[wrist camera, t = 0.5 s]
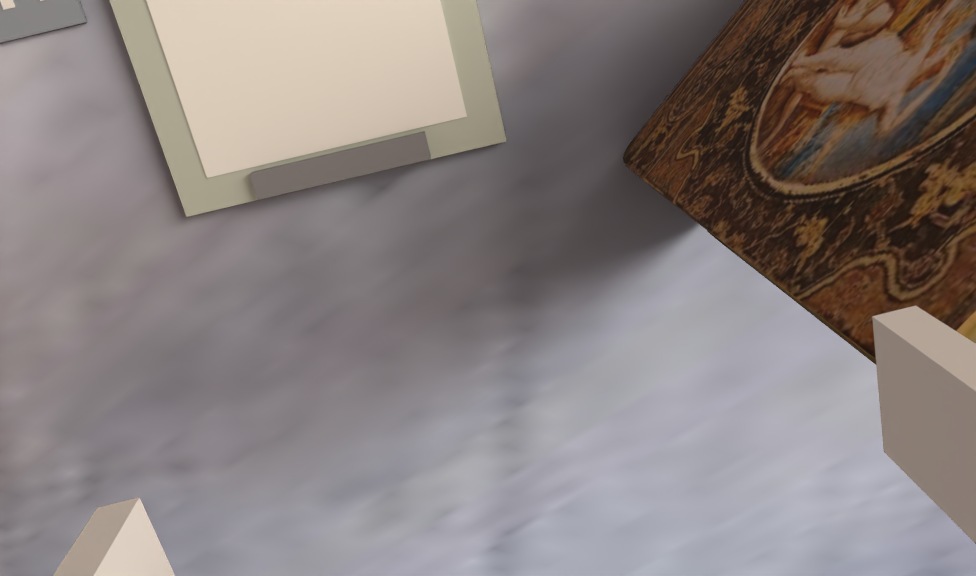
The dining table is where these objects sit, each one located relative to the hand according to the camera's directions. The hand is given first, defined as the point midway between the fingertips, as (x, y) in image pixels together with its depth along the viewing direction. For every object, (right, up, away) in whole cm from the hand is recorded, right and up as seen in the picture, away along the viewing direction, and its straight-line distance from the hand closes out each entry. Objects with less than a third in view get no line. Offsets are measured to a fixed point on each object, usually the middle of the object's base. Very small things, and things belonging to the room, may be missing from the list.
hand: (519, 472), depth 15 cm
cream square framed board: (-9, +16, +21) cm, 28 cm away
